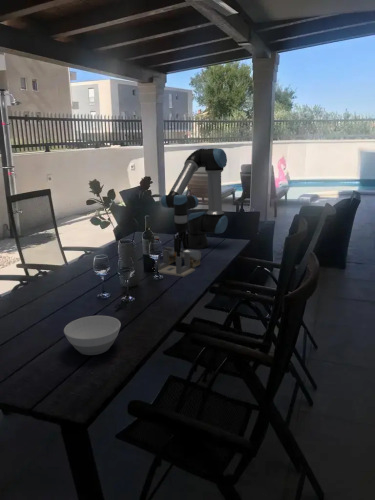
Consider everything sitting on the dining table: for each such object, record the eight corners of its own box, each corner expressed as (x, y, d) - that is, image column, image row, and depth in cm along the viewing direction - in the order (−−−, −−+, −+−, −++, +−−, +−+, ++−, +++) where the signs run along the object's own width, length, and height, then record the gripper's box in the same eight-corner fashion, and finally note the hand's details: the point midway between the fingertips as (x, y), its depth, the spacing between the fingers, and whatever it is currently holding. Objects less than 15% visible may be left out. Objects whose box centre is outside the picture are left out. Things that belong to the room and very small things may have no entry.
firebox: (149, 271, 239) (149, 254, 237) (161, 265, 249) (161, 249, 247) (183, 276, 228) (183, 258, 226) (195, 270, 238) (194, 253, 236)
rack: (164, 264, 252) (164, 256, 251) (172, 260, 260) (172, 253, 259) (192, 268, 243) (192, 260, 242) (200, 264, 251) (200, 256, 250)
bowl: (133, 346, 153) (132, 324, 151) (87, 368, 139) (85, 344, 137) (99, 331, 165) (98, 311, 163) (54, 350, 151) (52, 328, 149)
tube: (163, 258, 254) (163, 247, 252) (169, 255, 259) (168, 245, 257) (196, 262, 243) (195, 251, 241) (201, 259, 248) (201, 249, 247)
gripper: (183, 218, 255) (185, 256, 261) (166, 224, 239) (168, 264, 245) (194, 219, 251) (195, 257, 257) (178, 225, 236) (179, 266, 242)
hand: (182, 261), depth 251 cm, fingers closed on tube, 6 cm apart
